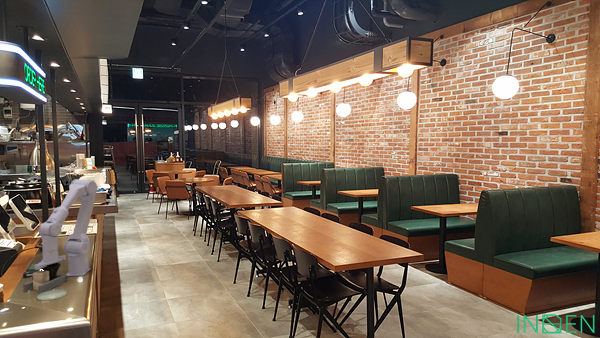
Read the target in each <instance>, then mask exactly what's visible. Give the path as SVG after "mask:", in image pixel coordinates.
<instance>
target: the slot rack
mask: <svg viewBox="0 0 600 338" xmlns="http://www.w3.org/2000/svg"><path fill="white" fill-rule="evenodd" d="M67 282H68V276H67V275H66V274H62V273H60V274H58V273H56V277H55V279H53V280H51V281H49V282H46V283H44V284H42V285H39V286H38V290H37V292H38V294H41V293H43V292H46V291H50V290H53V289H54V288H56V287H58V286H61V285H62V284H65V283H67ZM22 287H23V292H25V293H27V292H29V291H31V290H33V280H30V281H28V282H25V283H23V286H22Z"/></svg>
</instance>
